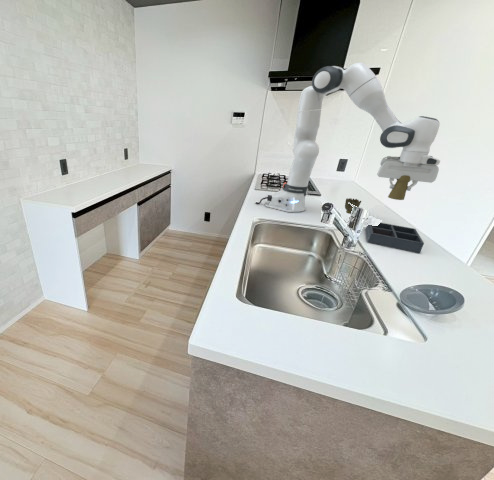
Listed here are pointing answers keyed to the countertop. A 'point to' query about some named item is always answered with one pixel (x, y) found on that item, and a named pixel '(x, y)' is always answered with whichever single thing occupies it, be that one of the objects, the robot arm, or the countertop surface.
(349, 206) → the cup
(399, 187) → the cork
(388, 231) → the grid
